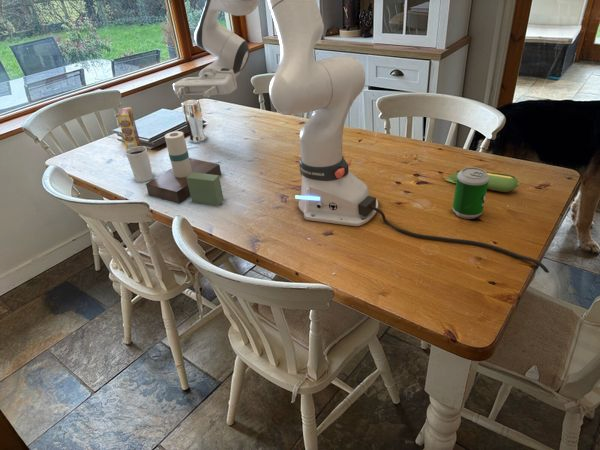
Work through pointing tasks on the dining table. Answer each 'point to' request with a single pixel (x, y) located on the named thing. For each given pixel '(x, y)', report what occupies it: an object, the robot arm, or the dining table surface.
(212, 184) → the green block
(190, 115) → the beer glass
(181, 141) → the paper roll
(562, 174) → the dining table surface
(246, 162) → the dining table surface
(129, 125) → the candy box
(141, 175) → the white cup
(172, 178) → the chopping block
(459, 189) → the soda can
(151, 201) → the dining table surface
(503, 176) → the edible corn
